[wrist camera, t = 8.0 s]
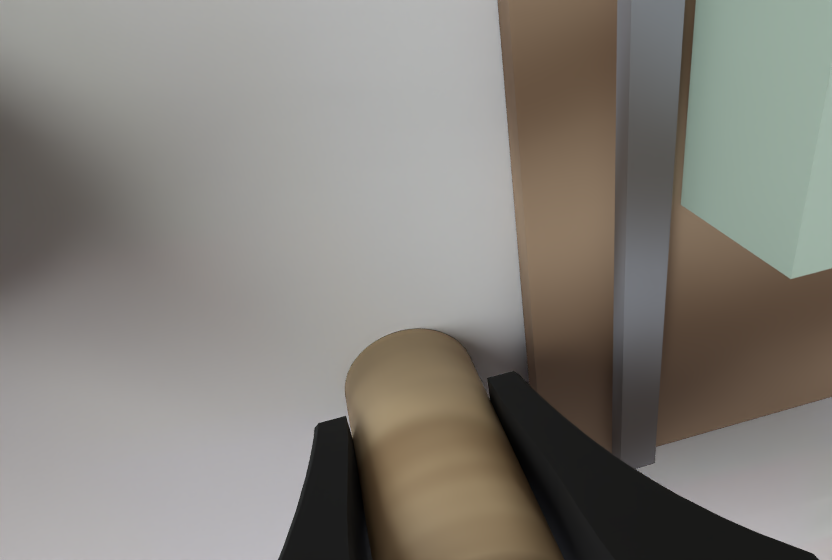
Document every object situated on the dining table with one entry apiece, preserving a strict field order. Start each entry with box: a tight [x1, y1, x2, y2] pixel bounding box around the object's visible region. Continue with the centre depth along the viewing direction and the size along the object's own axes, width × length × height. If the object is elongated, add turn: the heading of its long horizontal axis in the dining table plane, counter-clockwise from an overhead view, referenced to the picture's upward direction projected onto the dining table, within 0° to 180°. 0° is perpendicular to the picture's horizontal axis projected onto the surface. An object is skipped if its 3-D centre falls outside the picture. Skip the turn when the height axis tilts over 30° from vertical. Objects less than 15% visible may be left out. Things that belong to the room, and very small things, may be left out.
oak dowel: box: [345, 329, 564, 560], centre depth 13 cm, size 3×3×6 cm
